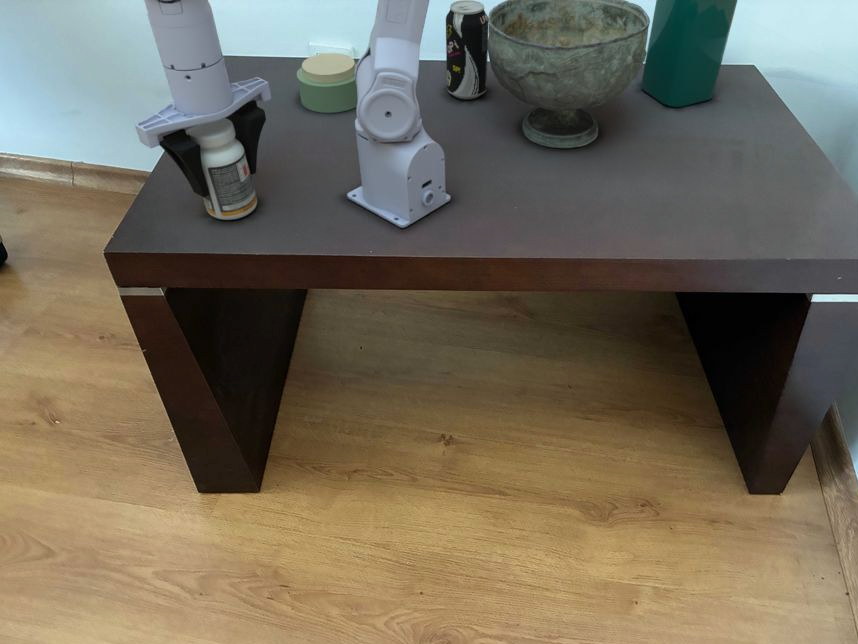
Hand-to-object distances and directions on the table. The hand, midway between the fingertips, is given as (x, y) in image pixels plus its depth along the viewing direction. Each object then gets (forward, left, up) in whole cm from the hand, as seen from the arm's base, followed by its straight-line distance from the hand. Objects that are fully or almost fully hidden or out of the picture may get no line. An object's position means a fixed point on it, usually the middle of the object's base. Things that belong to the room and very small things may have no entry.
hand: (225, 181), depth 79 cm
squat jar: (+13, -26, -3) cm, 29 cm away
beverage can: (0, -40, -4) cm, 40 cm away
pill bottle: (0, 0, -4) cm, 4 cm away
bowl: (-16, -40, -4) cm, 43 cm away
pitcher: (-23, -60, -4) cm, 64 cm away
